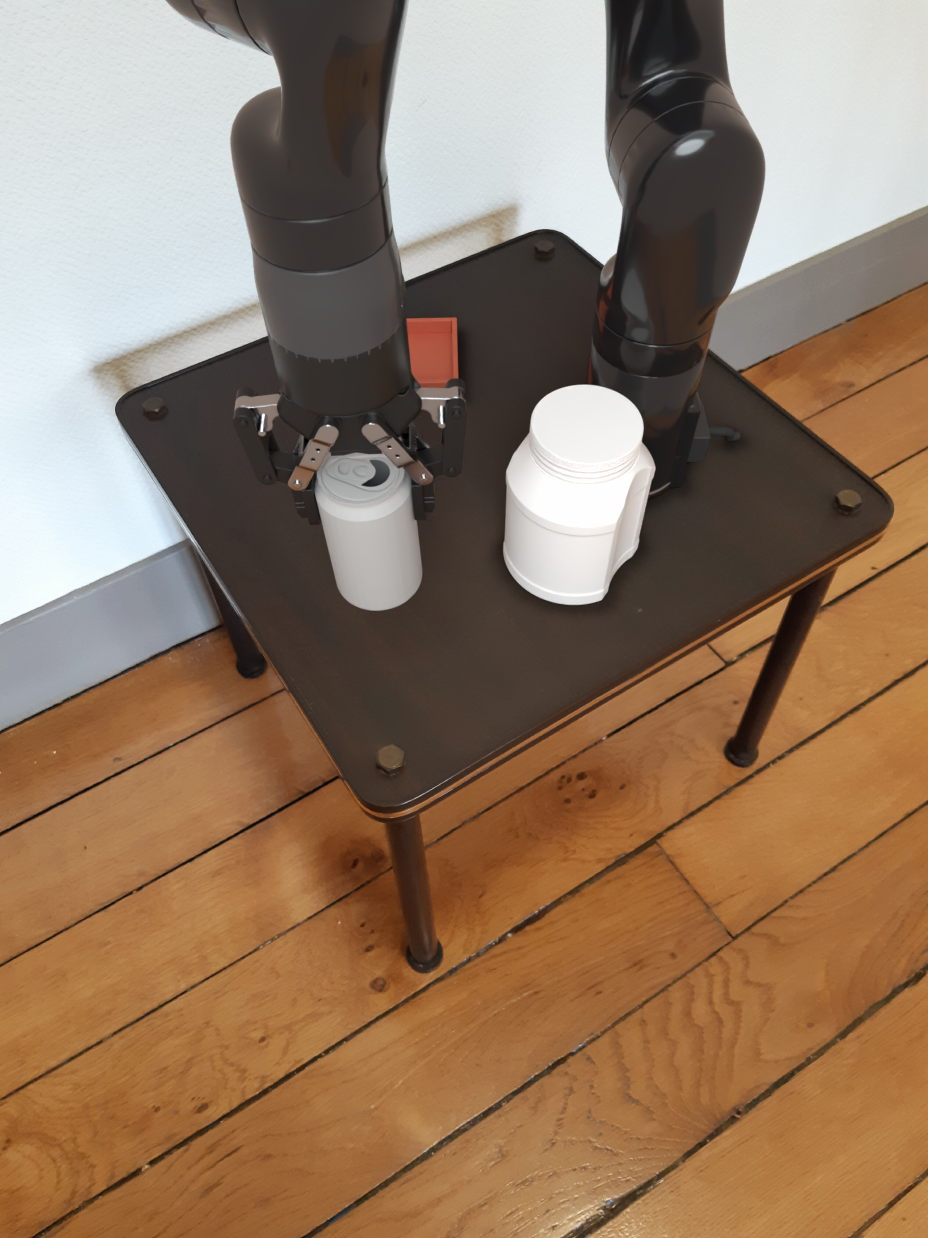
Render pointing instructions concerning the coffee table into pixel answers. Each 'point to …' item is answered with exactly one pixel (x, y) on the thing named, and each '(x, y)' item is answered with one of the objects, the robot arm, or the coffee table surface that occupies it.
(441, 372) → the red tray
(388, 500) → the beverage can
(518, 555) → the jar
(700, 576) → the coffee table surface
